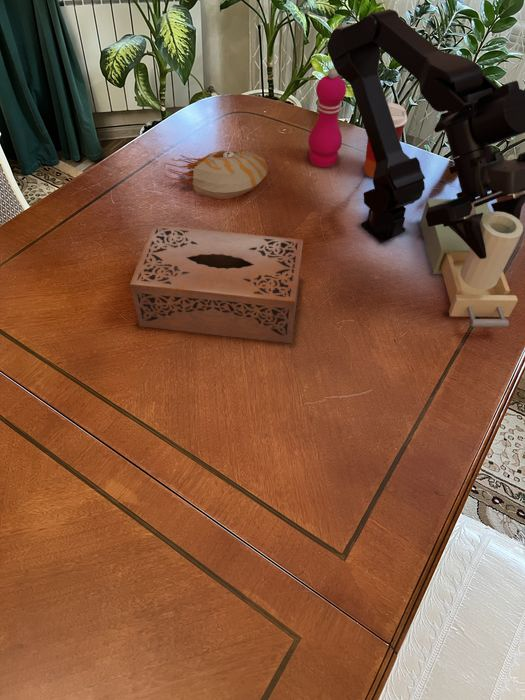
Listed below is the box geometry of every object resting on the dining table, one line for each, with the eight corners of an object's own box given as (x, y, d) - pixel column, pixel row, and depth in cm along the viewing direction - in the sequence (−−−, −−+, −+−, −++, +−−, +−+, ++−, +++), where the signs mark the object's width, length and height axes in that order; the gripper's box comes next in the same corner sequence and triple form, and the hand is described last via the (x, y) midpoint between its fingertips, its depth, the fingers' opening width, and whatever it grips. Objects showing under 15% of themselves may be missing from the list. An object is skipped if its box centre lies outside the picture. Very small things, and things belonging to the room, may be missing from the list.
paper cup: (397, 165, 127) (411, 105, 115) (390, 185, 122) (404, 124, 111) (363, 158, 128) (373, 97, 117) (355, 177, 123) (365, 116, 112)
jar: (461, 286, 93) (483, 234, 84) (459, 261, 97) (481, 209, 88) (498, 292, 92) (525, 240, 84) (496, 266, 96) (521, 214, 87)
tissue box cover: (299, 281, 104) (303, 239, 96) (291, 343, 95) (295, 302, 87) (160, 267, 105) (152, 224, 98) (139, 326, 97) (129, 284, 89)
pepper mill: (337, 170, 125) (349, 80, 109) (304, 166, 126) (312, 76, 110) (341, 152, 129) (353, 62, 113) (309, 148, 130) (317, 58, 114)
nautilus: (155, 199, 118) (183, 162, 128) (254, 215, 114) (275, 175, 123) (148, 164, 112) (178, 128, 122) (252, 180, 108) (275, 141, 117)
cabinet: (494, 274, 106) (505, 250, 101) (433, 273, 106) (441, 249, 101) (476, 223, 115) (485, 199, 110) (419, 223, 115) (427, 198, 110)
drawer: (515, 336, 96) (525, 319, 92) (455, 335, 96) (462, 318, 92) (489, 262, 107) (497, 245, 103) (435, 262, 106) (441, 245, 103)
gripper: (462, 155, 75) (492, 268, 78) (561, 119, 81) (586, 225, 84) (410, 174, 85) (439, 273, 89) (502, 141, 91) (526, 235, 94)
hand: (498, 251), depth 89 cm, fingers closed on jar, 6 cm apart
